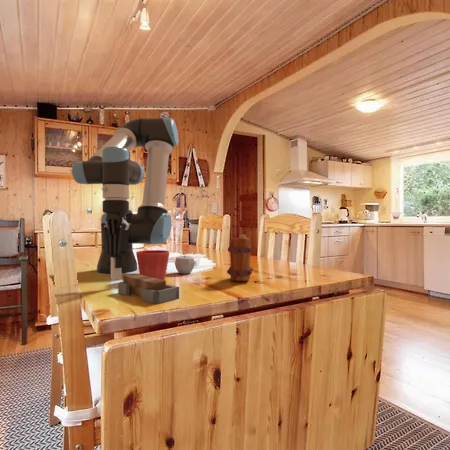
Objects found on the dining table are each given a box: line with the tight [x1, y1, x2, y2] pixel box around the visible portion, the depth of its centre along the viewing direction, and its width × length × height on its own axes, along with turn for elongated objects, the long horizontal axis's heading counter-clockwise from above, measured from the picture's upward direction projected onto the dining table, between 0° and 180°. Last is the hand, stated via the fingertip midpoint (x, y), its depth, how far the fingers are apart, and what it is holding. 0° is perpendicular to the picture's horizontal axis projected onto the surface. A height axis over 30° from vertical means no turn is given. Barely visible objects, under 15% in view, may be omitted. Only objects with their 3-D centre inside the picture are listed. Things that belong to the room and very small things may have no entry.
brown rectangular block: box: [122, 273, 167, 298], centre depth 91 cm, size 15×4×5 cm, turn 45°
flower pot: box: [135, 249, 170, 281], centre depth 112 cm, size 11×11×10 cm
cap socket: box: [141, 283, 180, 305], centre depth 87 cm, size 6×8×3 cm
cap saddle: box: [117, 281, 131, 297], centre depth 95 cm, size 4×8×3 cm, turn 139°
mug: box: [226, 233, 254, 283], centre depth 114 cm, size 15×8×15 cm, turn 168°
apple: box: [174, 255, 196, 275], centre depth 125 cm, size 8×8×7 cm
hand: (116, 278), depth 100 cm, fingers closed
